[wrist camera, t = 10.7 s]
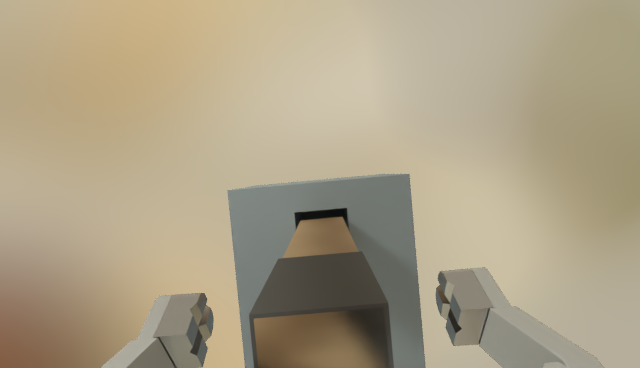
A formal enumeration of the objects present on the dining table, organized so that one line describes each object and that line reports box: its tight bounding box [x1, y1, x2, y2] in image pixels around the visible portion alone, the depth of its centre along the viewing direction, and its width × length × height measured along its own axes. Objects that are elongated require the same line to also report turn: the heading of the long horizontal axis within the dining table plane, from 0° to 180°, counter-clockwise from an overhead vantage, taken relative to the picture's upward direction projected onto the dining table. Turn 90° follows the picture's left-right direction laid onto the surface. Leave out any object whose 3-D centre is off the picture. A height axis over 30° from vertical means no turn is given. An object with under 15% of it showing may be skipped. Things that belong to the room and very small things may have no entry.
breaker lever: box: [249, 217, 394, 368], centre depth 16 cm, size 3×16×3 cm, turn 179°
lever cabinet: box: [228, 174, 425, 368], centre depth 29 cm, size 13×11×31 cm
